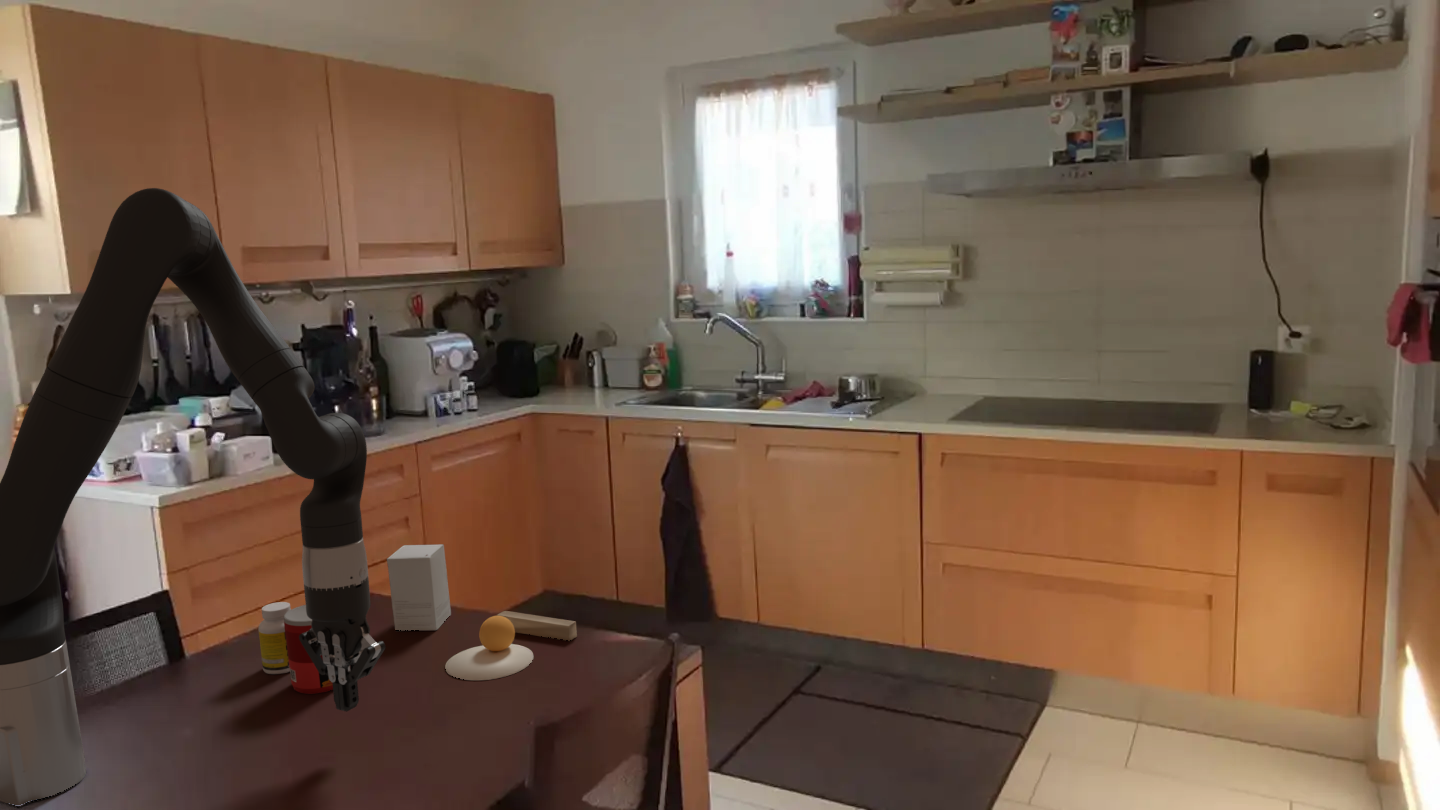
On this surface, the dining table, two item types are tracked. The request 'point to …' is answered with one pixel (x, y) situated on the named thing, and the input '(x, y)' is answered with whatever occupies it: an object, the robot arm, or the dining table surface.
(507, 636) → the ball
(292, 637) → the canned food
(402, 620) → the supplement box
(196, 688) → the dining table surface
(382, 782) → the dining table surface
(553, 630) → the stopper wall
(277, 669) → the supplement bottle
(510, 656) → the disc
